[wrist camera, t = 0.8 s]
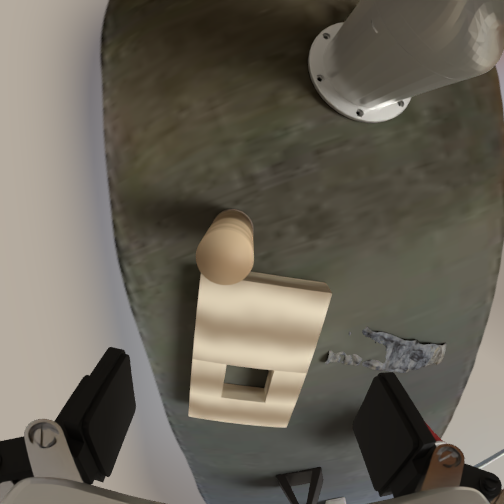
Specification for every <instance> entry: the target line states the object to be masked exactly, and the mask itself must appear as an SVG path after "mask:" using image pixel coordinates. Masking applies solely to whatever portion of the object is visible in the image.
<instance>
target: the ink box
mask: <svg viewBox="0 0 504 504" xmlns="http://www.w3.org/2000/svg"><path fill="white" fill-rule="evenodd" d="M325 504H346V501H345V497H342V498H337V499H331V500H326V503H325Z"/></svg>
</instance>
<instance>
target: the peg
mask: <svg viewBox="0 0 504 504" xmlns="http://www.w3.org/2000/svg"><path fill="white" fill-rule="evenodd" d="M253 232H254V228H253V224H252V221H251V219H250V218H249V217H248V215H247V214H245V213H244V212H242V211H240V210H237V209H227V210H224V211H222V212H220V213H219V214H218V215H217V216H216V217H215V218H214V220H213V222H212V224H211V226H210V228H209V229H208V231H207V232H206V234H205V235H204V237H203V239H202V240H201V242H200V243H199V245H198V248H197V251H196V262H197V266H198V268H199V270H200V272H201V273H202V274H203V276H204V277H205V278H207V279H208V280H209V281H211V282H213V283H216V284H219V285H232V284H236V283H238V282H240V281H242V280H243V279H244V278H245V277H246V276H247V275H248V274H249V273H250V271H251V269H252V267H253V263H254V249H253Z"/></svg>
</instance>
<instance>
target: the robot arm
mask: <svg viewBox="0 0 504 504" xmlns="http://www.w3.org/2000/svg"><path fill="white" fill-rule="evenodd" d="M324 37H325V38H326V39H325V38H324ZM503 50H504V0H360V2H359V3H358V4H357V6H356V7H355V8H354V10H353V11H352V12H351V14H350V15H349V17H348V18H347V19H346V21H345V22H341V23H337V24H334V25H331V26H329V27H327V28H326V29H324V30H322V31H321V32H320V34H319V35H318V36H317V37H316V38H315V40H314V41H313V43H312V46H311V48H310V50H309V55H308V70H309V74H310V78H311V80H312V83H313V85H314V87H315V89H316V90H317V92H318V93H319V95H320V96H321V97H322V99H323V100H324V101H325V102H326V103H327V104H328V105H329V106H330V107H332V108H333V109H334V110H336V111H337V112H338V113H340V114H342V115H344V116H345V117H347V118H350V119H353V120H356V121H358V122H365V123H379V122H383V121H387V120H389V119H392V118H394V117H396V116H397V115H399V114H400V113H401V112H402V111H403V110H404V109H405V108H406V107H407V105H408V103H409V102H410V100H411V97H413V96H415V95H418V94H421V93H424V92H427V91H430V90H433V89H436V88H440V87H443V86H446V85H449V84H452V83H456V82H459V81H462V80H466V79H469V78H472V77H475V76H479V75H481V74H484V73H486V72H487V71H489V70H490V69H492V68H493V67H494V66H495V65H496V64H497V62H498V61H499V60H500V58H501V56H502V53H503ZM317 78H319V79H321V82H320V81H318V80H317ZM398 104H399V105H398ZM356 112H358V113H359V116H357V114H356ZM135 409H136V403H135V397H134V390H133V382H132V375H131V366H130V357H129V355H127V354H125V351H124V350H122V349H117V348H113V347H109V348H108V349H107V351H106V352H105V354H104V355H103V357H102V358H101V360H100V361H99V363H98V364H97V366H96V367H95V369H94V370H93V371H92V373H91V375H90V376H89V375H86V376H85V377H83V379H82V380H81V382H80V383H79V385H78V386H77V388H76V389H75V391H74V392H73V394H72V395H71V397H70V398H69V400H68V401H67V403H66V404H65V406H64V407H63V409H62V410H61V412H60V414H59V415H58V417H57V418H56V420H55V421H52V420H48V419H38V420H35V421H33V422H31V423H30V424H29V425H28V426H27V427H26V429H25V432H24V437H19V438H15V439H9V440H4V441H0V504H165V503H161V502H156V501H151V500H146V499H142V498H138V497H133V496H129V495H126V494H122V493H118V492H115V491H111V490H107V489H104V488H100V487H96V486H93V485H91V484H93V481H94V480H98V481H100V482H103V481H104V479H105V476H107V477H109V476H110V475H111V473H112V470H113V467H114V465H115V462H116V459H117V456H118V454H119V451H120V449H121V446H122V443H123V441H124V438H125V436H126V433H127V431H128V428H129V426H130V423H131V421H132V418H133V415H134V413H135ZM353 430H354V433H355V436H356V439H357V441H358V444H359V447H360V450H361V453H362V455H363V458H364V461H365V464H366V467H367V470H368V472H369V475H370V478H371V481H372V484H373V487H374V489H375V490H376V491H378V492H379V495H380V497H382V496H387V495H391V494H393V496H394V498H392V499H388V500H383V501H378V502H374V503H369V504H504V489H503V490H502V489H501V486H502V485H501V482H500V480H499V478H498V477H497V476H496V475H495V474H493V473H490V472H487V471H484V470H481V469H479V468H476V467H473V466H470V465H467V464H465V463H464V455H463V453H462V451H461V450H460V449H459V448H458V447H456V446H454V445H452V444H441V445H439V446H438V447H436V445H435V443H436V440H435V438H434V436H433V435H432V433H431V431H430V430H429V428H428V426H427V425H426V423H425V421H424V420H423V418H422V416H421V415H420V413H419V412H418V410H417V408H416V407H415V405H414V403H413V402H412V400H411V399H410V397H409V395H408V394H407V392H406V391H405V389H404V388H403V386H402V384H401V383H400V381H399V380H398V378H397V377H396V375H395V374H394V373H393V372H388V373H379V374H378V376H376V377H374V379H373V381H372V383H371V386H370V388H369V390H368V392H367V395H366V397H365V399H364V401H363V403H362V405H361V407H360V410H359V412H358V414H357V416H356V418H355V420H354V422H353Z"/></svg>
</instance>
